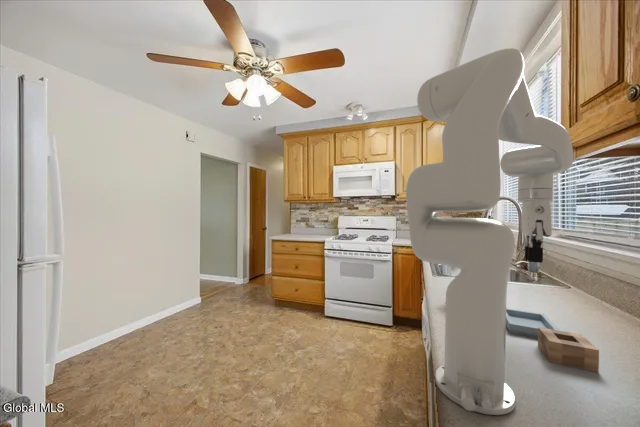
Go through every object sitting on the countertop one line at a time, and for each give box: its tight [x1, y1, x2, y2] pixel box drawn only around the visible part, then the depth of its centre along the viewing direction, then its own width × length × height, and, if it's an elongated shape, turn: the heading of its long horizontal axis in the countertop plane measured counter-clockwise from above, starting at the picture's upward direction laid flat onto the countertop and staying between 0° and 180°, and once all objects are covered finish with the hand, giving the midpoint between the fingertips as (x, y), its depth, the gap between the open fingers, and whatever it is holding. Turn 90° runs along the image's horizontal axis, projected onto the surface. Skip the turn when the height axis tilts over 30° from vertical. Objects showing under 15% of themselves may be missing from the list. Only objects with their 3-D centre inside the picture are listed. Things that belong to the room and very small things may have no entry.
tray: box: [506, 307, 561, 339], centre depth 75 cm, size 14×11×2 cm
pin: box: [528, 261, 540, 273], centre depth 73 cm, size 2×2×10 cm
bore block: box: [537, 327, 600, 373], centre depth 59 cm, size 8×8×5 cm
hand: (533, 260), depth 73 cm, fingers closed on pin, 2 cm apart
